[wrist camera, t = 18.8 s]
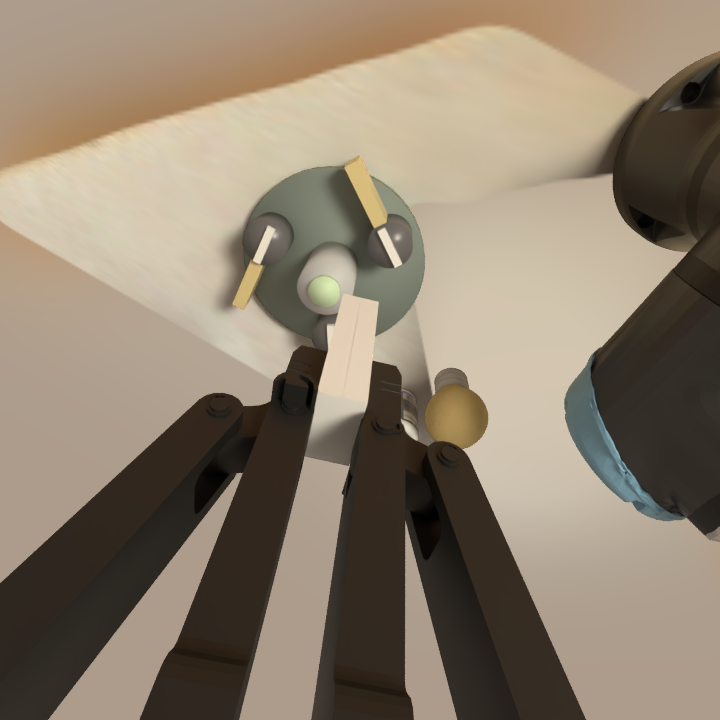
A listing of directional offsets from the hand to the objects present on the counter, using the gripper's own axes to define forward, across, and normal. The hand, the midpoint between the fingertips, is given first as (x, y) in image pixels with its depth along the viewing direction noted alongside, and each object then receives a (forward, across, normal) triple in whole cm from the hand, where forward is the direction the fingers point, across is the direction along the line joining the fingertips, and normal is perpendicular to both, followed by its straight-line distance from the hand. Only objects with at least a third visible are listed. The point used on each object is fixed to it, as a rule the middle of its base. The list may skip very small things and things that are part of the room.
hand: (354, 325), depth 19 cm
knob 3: (+25, 0, -2) cm, 25 cm away
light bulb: (+27, +13, -19) cm, 35 cm away
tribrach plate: (+26, -3, -8) cm, 28 cm away
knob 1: (+25, -10, -9) cm, 28 cm away
